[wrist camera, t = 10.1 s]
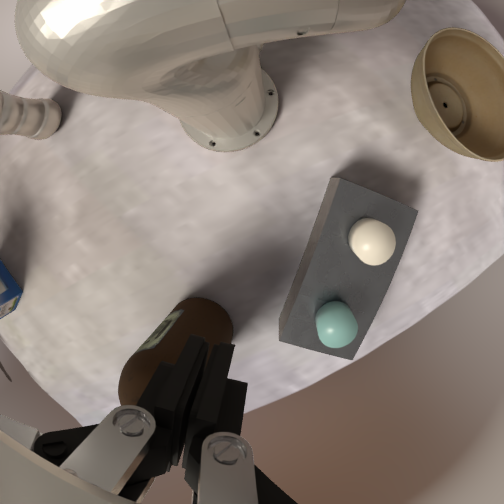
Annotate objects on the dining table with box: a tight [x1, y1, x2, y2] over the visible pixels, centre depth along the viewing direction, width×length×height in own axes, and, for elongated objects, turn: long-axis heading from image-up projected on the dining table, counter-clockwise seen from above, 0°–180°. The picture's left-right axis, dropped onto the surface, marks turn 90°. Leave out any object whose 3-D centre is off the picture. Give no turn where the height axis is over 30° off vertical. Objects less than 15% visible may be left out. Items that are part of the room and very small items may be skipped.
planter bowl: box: [411, 27, 504, 162], centre depth 27 cm, size 16×16×11 cm
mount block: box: [279, 178, 418, 360], centre depth 36 cm, size 20×10×6 cm, turn 162°
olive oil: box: [118, 298, 233, 406], centre depth 30 cm, size 11×11×25 cm
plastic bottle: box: [0, 90, 62, 140], centre depth 27 cm, size 6×7×20 cm
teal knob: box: [315, 301, 358, 348], centre depth 35 cm, size 4×4×9 cm
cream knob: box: [348, 218, 396, 265], centre depth 33 cm, size 4×4×9 cm
